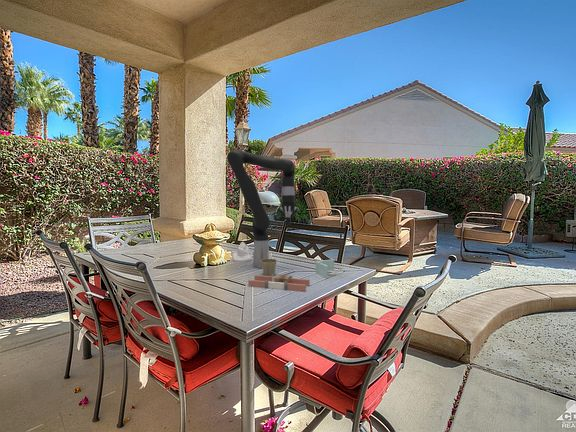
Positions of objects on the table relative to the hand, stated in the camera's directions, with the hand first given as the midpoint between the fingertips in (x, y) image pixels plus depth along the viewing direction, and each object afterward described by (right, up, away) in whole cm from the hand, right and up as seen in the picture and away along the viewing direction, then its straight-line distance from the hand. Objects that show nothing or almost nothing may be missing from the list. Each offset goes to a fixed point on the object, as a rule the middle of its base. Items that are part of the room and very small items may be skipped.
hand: (288, 223), depth 181 cm
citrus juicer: (-31, -26, +31) cm, 51 cm away
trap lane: (-5, -31, -23) cm, 39 cm away
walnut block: (-3, -32, -23) cm, 39 cm away
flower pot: (-11, -30, -5) cm, 32 cm away
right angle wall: (+24, -30, -3) cm, 39 cm away
